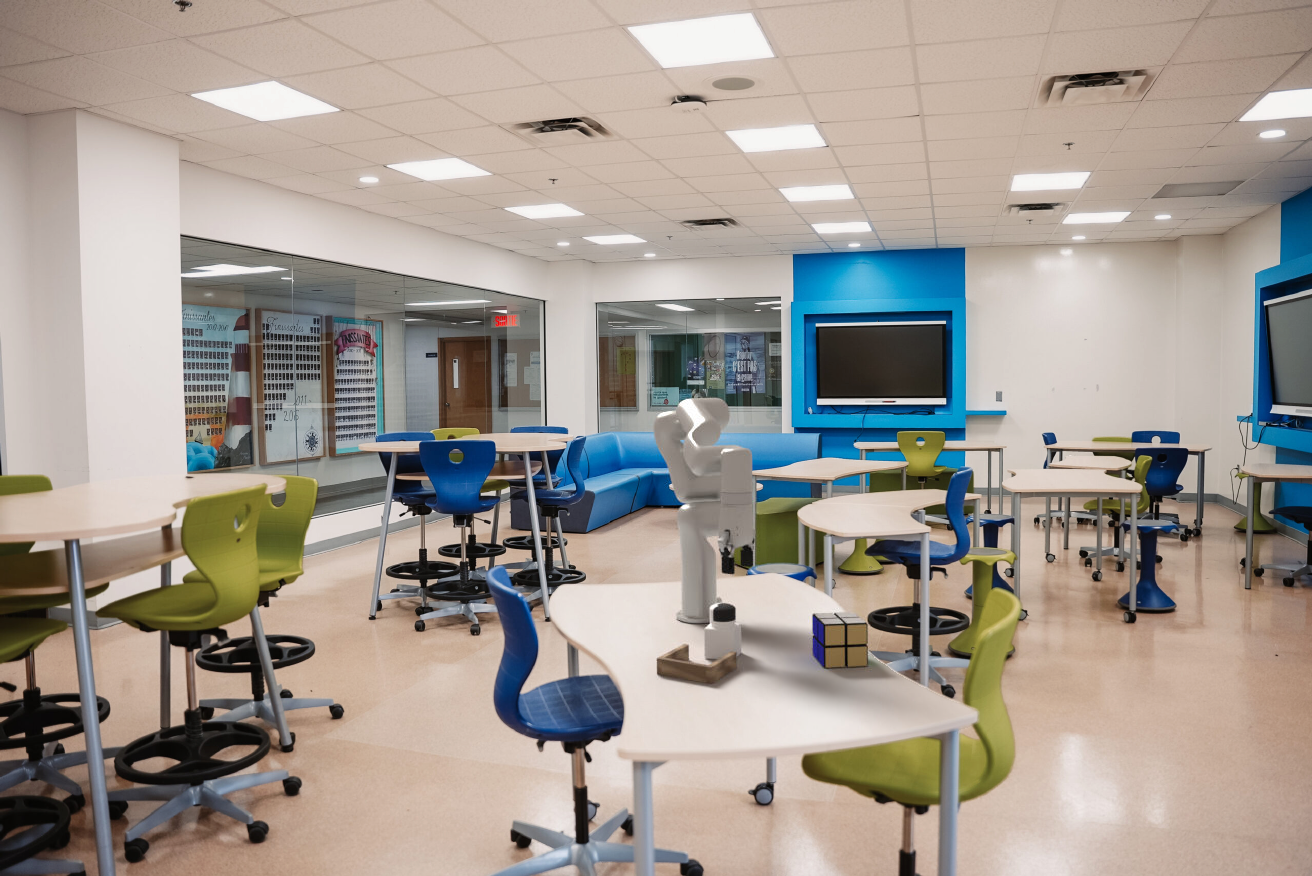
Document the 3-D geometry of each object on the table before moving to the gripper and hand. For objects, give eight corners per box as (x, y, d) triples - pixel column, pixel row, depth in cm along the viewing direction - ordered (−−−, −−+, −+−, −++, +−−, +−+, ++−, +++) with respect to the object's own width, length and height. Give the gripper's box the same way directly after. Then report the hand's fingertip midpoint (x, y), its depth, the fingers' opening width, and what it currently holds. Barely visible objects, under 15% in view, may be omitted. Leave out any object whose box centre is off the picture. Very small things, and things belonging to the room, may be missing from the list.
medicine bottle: (741, 652, 205) (741, 602, 205) (734, 661, 198) (733, 609, 198) (712, 649, 208) (711, 600, 207) (704, 658, 201) (703, 607, 200)
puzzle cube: (812, 655, 202) (811, 613, 202) (854, 653, 203) (854, 611, 203) (824, 669, 192) (823, 624, 192) (868, 667, 193) (868, 622, 193)
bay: (684, 658, 201) (684, 643, 201) (736, 667, 194) (736, 652, 194) (656, 673, 191) (656, 658, 190) (711, 683, 184) (710, 667, 183)
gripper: (739, 494, 218) (740, 562, 219) (705, 502, 204) (706, 575, 205) (766, 496, 214) (767, 564, 215) (733, 504, 200) (734, 578, 201)
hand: (737, 569), depth 210 cm, fingers open, 9 cm apart
